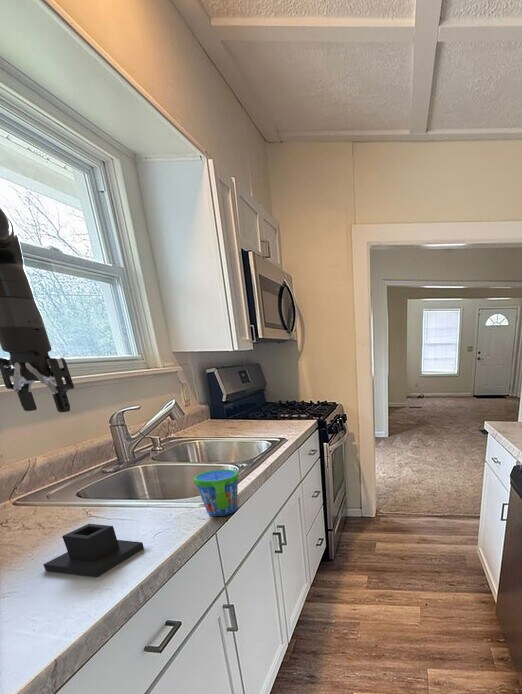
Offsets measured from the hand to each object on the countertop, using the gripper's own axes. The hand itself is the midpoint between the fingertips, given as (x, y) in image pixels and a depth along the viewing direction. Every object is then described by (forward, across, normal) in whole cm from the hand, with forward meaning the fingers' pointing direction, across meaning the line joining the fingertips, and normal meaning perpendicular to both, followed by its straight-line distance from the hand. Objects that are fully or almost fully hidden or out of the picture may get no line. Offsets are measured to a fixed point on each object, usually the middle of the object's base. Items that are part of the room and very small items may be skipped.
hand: (47, 411), depth 83 cm
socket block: (+27, +13, -10) cm, 31 cm away
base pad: (+28, +13, -10) cm, 33 cm away
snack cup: (+28, +24, +18) cm, 41 cm away
